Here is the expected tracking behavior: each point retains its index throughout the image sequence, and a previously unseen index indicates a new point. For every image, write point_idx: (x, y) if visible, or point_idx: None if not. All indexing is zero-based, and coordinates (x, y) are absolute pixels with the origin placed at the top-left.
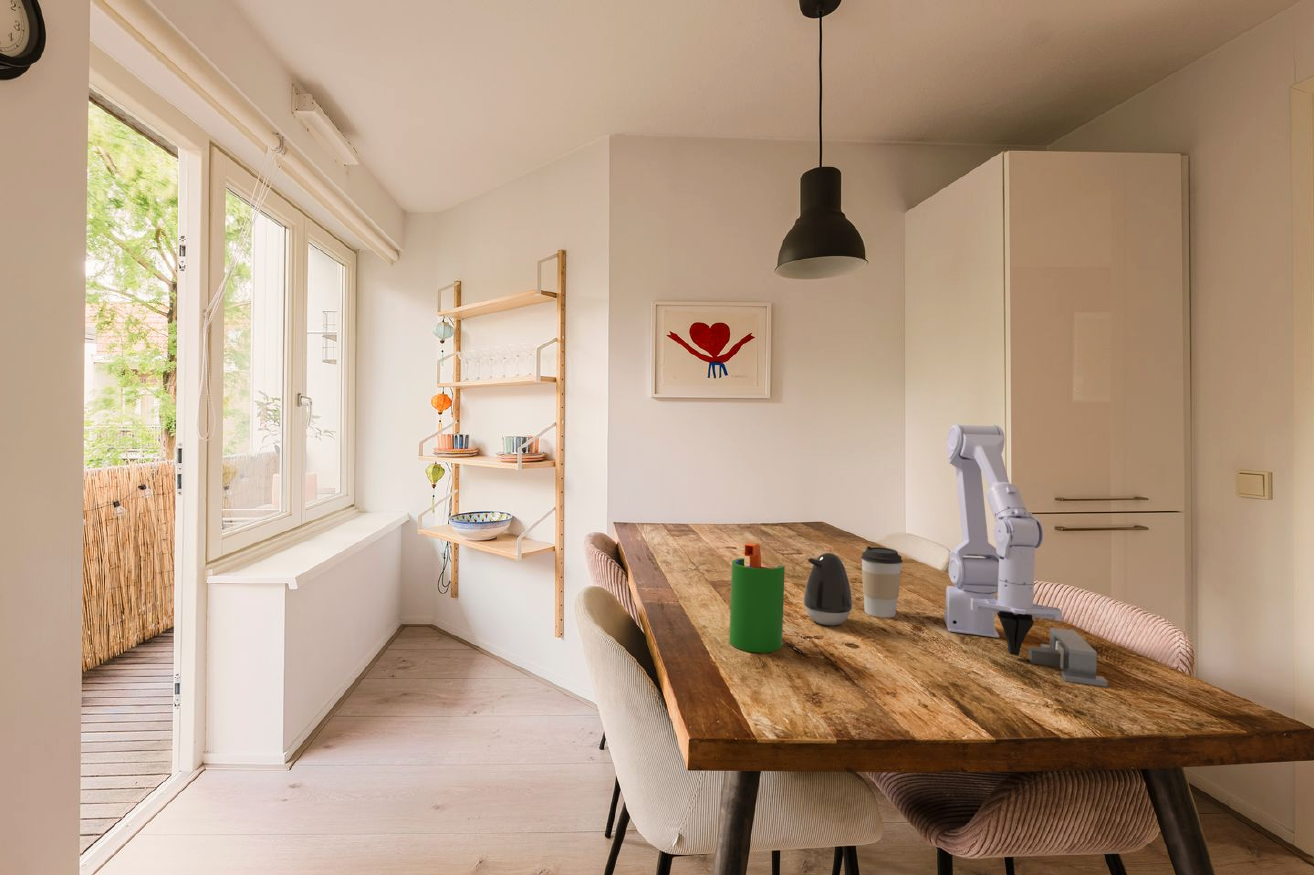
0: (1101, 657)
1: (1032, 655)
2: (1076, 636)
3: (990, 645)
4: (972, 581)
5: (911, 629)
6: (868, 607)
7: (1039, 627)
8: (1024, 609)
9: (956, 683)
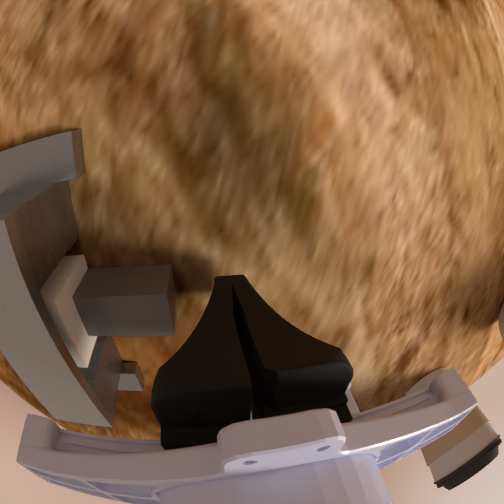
0: None
1: (166, 280)
2: (31, 382)
3: None
4: None
5: (419, 347)
6: None
7: None
8: (230, 473)
9: (437, 5)
